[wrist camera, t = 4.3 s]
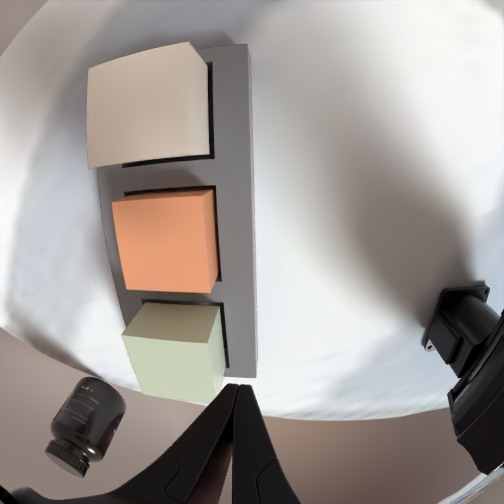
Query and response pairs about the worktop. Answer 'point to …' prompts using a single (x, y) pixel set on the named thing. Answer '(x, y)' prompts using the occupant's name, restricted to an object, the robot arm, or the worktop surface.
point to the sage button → (177, 351)
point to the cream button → (148, 106)
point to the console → (228, 208)
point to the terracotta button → (169, 239)
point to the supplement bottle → (85, 425)
